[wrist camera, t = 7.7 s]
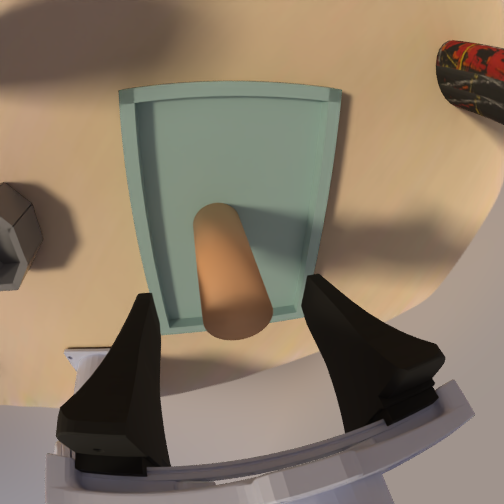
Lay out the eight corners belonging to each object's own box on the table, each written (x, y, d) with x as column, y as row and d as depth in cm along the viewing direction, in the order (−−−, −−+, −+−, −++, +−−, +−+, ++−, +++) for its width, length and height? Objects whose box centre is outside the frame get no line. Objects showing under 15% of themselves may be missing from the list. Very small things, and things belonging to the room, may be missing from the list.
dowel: (240, 241, 20) (271, 334, 13) (195, 246, 19) (206, 344, 13) (239, 200, 18) (275, 287, 11) (191, 205, 17) (199, 297, 11)
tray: (298, 305, 25) (304, 317, 24) (161, 321, 23) (161, 335, 22) (330, 87, 15) (342, 89, 14) (124, 89, 13) (118, 90, 12)
